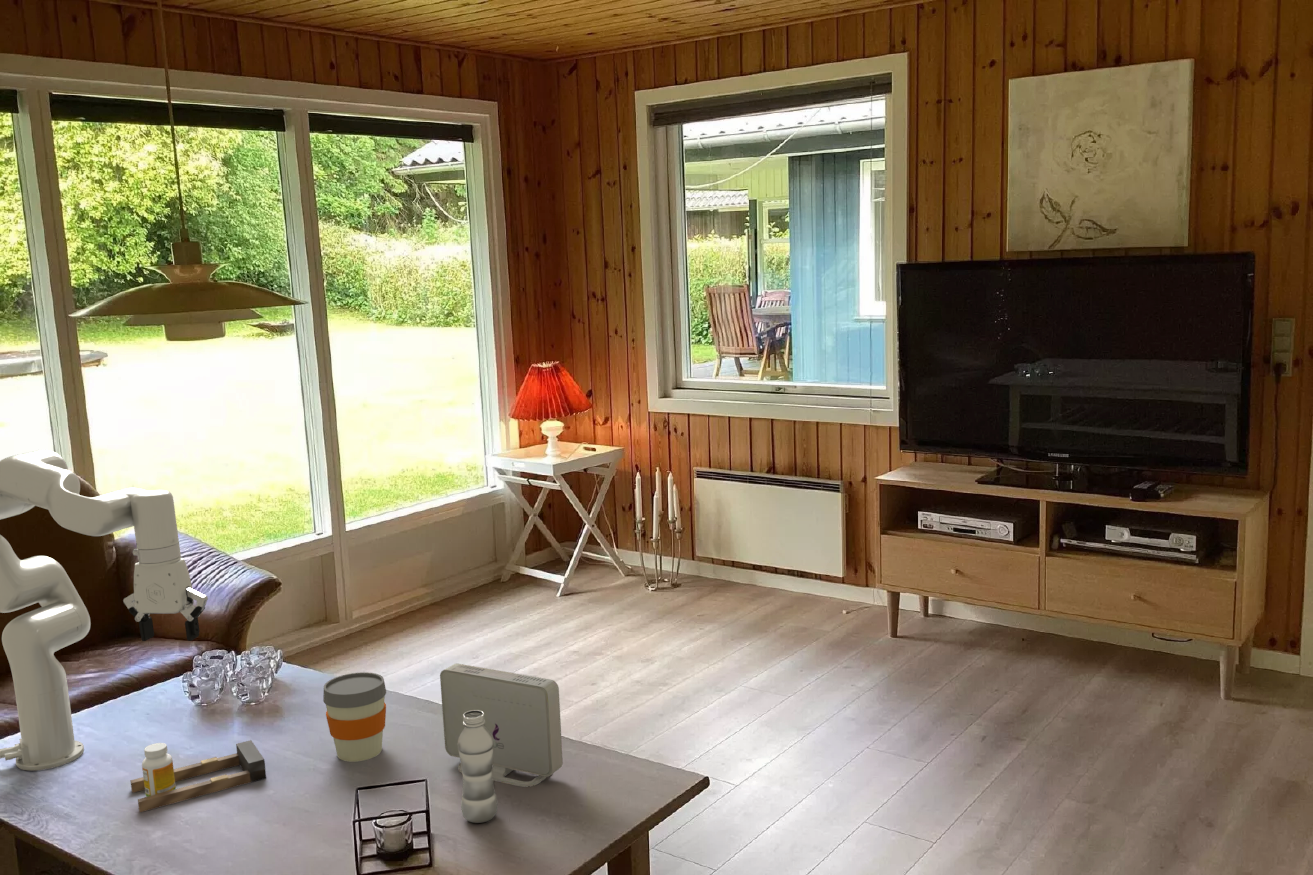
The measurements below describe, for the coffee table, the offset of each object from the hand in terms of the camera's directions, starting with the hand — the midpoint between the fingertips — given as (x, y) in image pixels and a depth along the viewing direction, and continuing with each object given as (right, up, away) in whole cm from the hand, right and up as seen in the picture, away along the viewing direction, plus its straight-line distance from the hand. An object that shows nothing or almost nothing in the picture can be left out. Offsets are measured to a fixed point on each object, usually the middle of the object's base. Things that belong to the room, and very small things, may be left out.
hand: (170, 638), depth 220 cm
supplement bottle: (0, -30, -3) cm, 30 cm away
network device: (+65, -27, +2) cm, 70 cm away
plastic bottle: (+63, -30, -17) cm, 72 cm away
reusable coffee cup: (+34, -26, +12) cm, 44 cm away
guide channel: (+5, -29, 0) cm, 29 cm away
